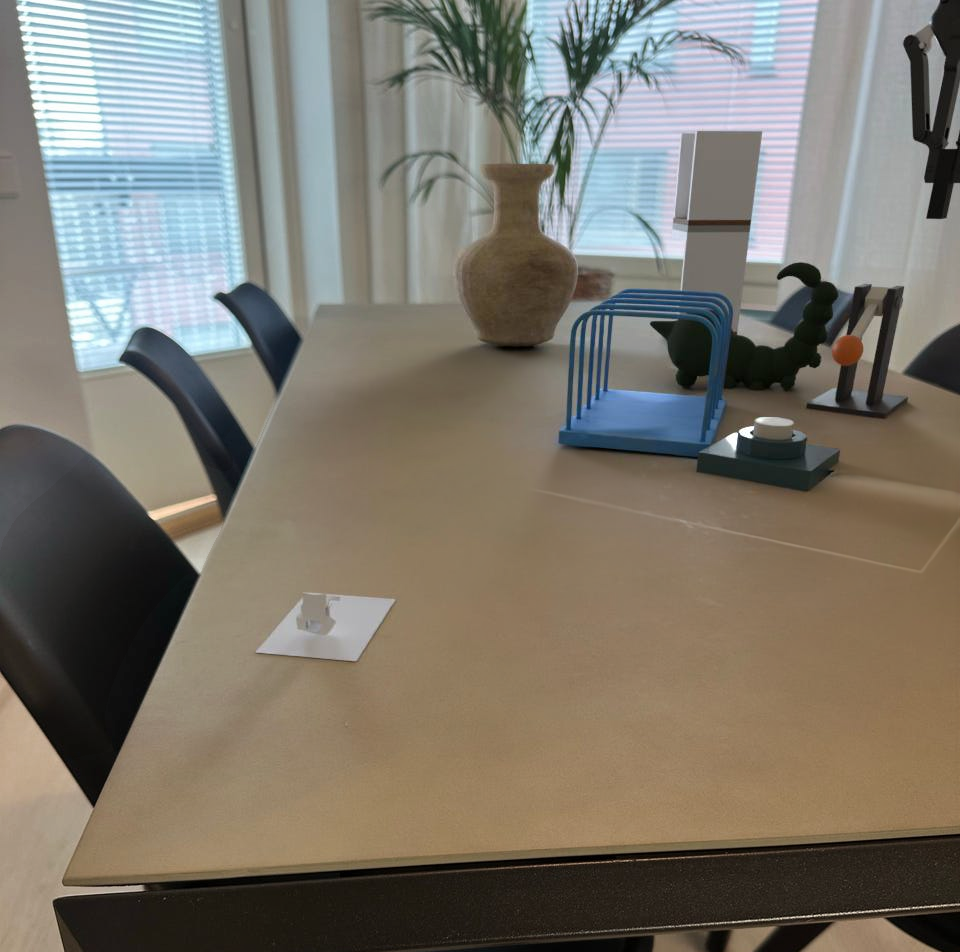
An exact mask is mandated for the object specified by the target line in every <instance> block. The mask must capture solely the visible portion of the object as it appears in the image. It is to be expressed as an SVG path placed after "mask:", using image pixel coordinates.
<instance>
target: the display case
mask: <svg viewBox="0 0 960 952" xmlns="http://www.w3.org/2000/svg"><path fill="white" fill-rule="evenodd" d="M762 136H763V130H742V131H741V130H695V133H694V132H693V133H692V132H691V133H689V132H687V133H686V132H683V133H682V132H681V133H680V138H679V139H680V140H679V148H678V149H679V150H678V151H679V152H678V162H677V173H676V184H675V195H674V207H673V216H672V229H671V238H674V239H678V240H681V241H684V248H683V249H684V250H683V259H682V270H681V281H680V290H684V291H702V292H716V293H720V294H723V295H724V296H726V297H727V298H728V299H729V301H730V302H731V304H732V307H733V320H732V330H733V333H734V335H738V330H739V322H740V315H741V306H742V298H743V289H744V282H745V274H746V268H747V267H746V266H747V258H748V257H747V256H748V251H749V250H748V249H749V243H750V233H751V226H752V218H753V209H754V200H755V193H756V186H757V185H756V184H757V177H758V169H759V161H760V153H761V145H762V139H763V137H762ZM679 296H691V295H679ZM699 297H709V296H699ZM712 298H716V299H718V300H720V301H721V302H722V303H723V304H724V305H725V306H726V308H727V310H728V313H729V309H728V306H727V304H726V303H725V302H724V301H723V300H722V299H720V298H717V297H712ZM678 301H681V300H678ZM689 302H699V301H689ZM705 303H711V302H705ZM711 304H713V305H715V306H717V307H718V308H719V309H720V310H721V311H722V309H721V308H720V307H719V306H718V305H716V304H714V303H711ZM678 307H686V306H678ZM688 308H701V309H709V308H702V307H688ZM709 310H711V309H709ZM722 313H723V311H722ZM677 314H686V313H681V312H677ZM723 314H724V313H723Z"/></svg>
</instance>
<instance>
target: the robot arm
mask: <svg viewBox="0 0 960 952" xmlns="http://www.w3.org/2000/svg"><path fill="white" fill-rule="evenodd" d="M933 38H935V40H936V41H937V44H938V47H939V48H940V50H941V52H942V54H943V56H944V57H945V59H944V64H943V75H942V80H941V85H940V90H939V94H938V95H939V96H938V100H937V103H936V104H937V105H936V109H935V115H934V120H933V123H932V124H933V125H932V130H931V103H930V102H931V101H930V66H929V65H930V64H929V58H928V57H929V56H928V53H929V52H930V51H931V50H932V45H933V44H932V40H933ZM902 45H903V48H904V50H905V53H906V55H907V57H908V58H907V59H908V60H909V63H910V64H909V66H910V67H909V68H910V69H909V70H910V96H911V118H912V119H911V124H912V125H911V127H912V128H911V129H912V139H913V141H915V142H917V143H921V144H923V145H925V146H926V147H927V148H928V154H927V161H926V165H925V171H924V175H923V180H924V181H923V182H924V184H932V187H931V193H930V198H929V203H928V208H927V212H926V217H925V219H926V220H943V219H947V217H948V213H949V209H950V203H951V199H952V196H953V195H952V194H953V189H954V185H955V184H960V130H959V131H958V137H957V140H955V145H956V148H947V147H948V145H949V136H950V132H951V128H952V122H953V118H954V113H955V108H956V104H957V100H958V99H957V98H958V93H959V88H960V0H939V2H938V4H937V7H936V9H935V10H934V12H933V13H932V15H931V17H930V22H929V23H928V24H927V25H926V26H924V27H923V28H921V29H919V31H917V32H916V33H915V34H908V35H907V36H905V38H904V39H903V42H902Z"/></svg>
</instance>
